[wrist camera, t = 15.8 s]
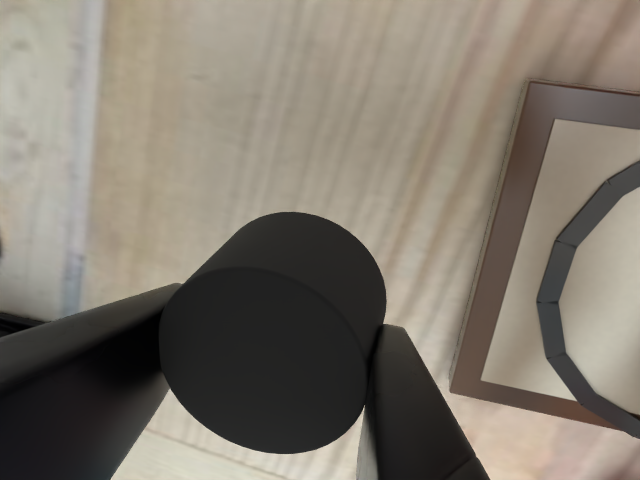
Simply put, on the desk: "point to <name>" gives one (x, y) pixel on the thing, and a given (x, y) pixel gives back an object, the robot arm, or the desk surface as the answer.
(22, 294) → the desk surface
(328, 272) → the black short cylinder
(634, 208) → the board
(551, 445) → the desk surface
